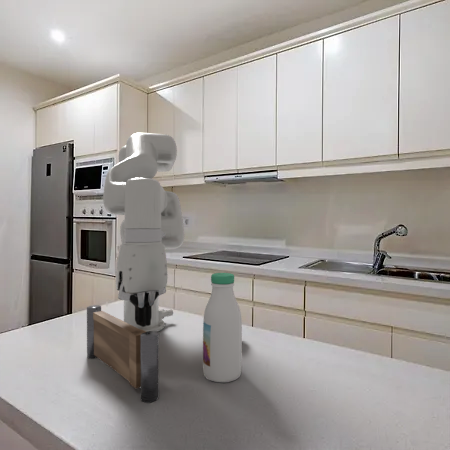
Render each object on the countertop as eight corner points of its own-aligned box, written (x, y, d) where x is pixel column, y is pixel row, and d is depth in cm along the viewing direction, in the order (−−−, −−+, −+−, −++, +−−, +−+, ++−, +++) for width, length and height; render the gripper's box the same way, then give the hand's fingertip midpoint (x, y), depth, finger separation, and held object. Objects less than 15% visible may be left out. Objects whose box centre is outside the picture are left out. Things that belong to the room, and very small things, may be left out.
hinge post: (98, 351, 75) (97, 304, 75) (103, 355, 73) (103, 307, 73) (84, 355, 73) (84, 307, 73) (90, 359, 71) (89, 309, 70)
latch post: (152, 391, 58) (152, 330, 58) (161, 397, 56) (161, 334, 56) (137, 397, 56) (137, 334, 56) (146, 404, 54) (146, 339, 54)
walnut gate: (102, 352, 72) (102, 310, 72) (148, 384, 59) (148, 332, 58) (92, 355, 71) (91, 312, 70) (136, 388, 57) (136, 335, 57)
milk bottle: (246, 368, 67) (246, 272, 67) (235, 386, 60) (235, 278, 59) (211, 362, 70) (211, 270, 69) (196, 379, 62) (196, 276, 62)
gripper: (163, 236, 76) (163, 314, 76) (100, 238, 66) (100, 328, 66) (182, 237, 71) (182, 321, 71) (117, 238, 60) (117, 337, 60)
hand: (143, 324), depth 68 cm, fingers closed
